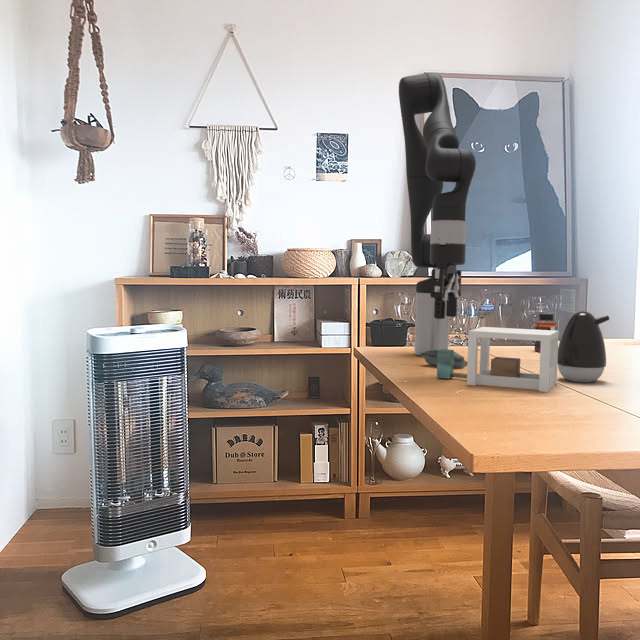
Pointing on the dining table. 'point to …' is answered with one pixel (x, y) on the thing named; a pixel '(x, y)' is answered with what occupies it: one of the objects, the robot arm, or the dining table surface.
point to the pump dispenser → (582, 348)
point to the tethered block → (445, 370)
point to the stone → (432, 358)
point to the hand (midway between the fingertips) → (445, 317)
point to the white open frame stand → (526, 380)
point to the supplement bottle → (544, 326)
